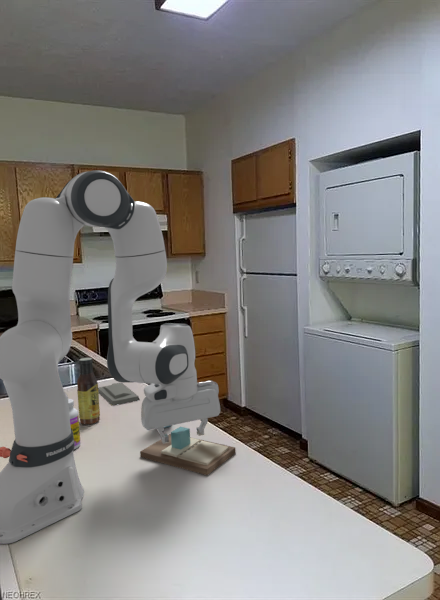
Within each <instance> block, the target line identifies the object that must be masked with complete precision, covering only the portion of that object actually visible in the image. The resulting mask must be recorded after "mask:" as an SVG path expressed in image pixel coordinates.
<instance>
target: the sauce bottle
mask: <svg viewBox="0 0 440 600" xmlns="http://www.w3.org/2000/svg"><path fill="white" fill-rule="evenodd" d="M93 363H94V362H93V358H92V357H82V358H80V359H78V365H79V370H80V371H79V373H80V374H79V376H78V378H77V382H76V385H77V392H76V393H77V405H78V407H77V408H78V415H79V424H81V425H93V424H96V423H98V422H99V421H100V417H101V412H100V409H101V408H100V398H99V397H100V395H99V394H100V393H99V392H98V388H99V383H98V379H97V378H96V376H95V374H94V369H93Z"/></svg>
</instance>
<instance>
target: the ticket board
mask: <svg viewBox="0 0 440 600" xmlns="http://www.w3.org/2000/svg"><path fill="white" fill-rule="evenodd" d="M167 435H168V436H169V439H168V440H169V442H168V443H164V444H163V443H162V439H161V438H160V439H159V440H157V441H156V442H154V443H153V444H151V445H148V447H145V448H143V449H141V450H140V451H139V455H140V456H139V457H140V458H142V459H146V460H150V461H153V462H156V463H157V462H158V463H159V464H160V463H161V464H163V465H164V464H165V465H168V466H172V467H175V468H178V469H181V470H185V471H190V472H193V473H197V474H201V475H204V476H209V475H210V474H211V473H212V472H214V471H215V470H216V469H217V468H219V467H220V466H222V465H223V464H224V463H225V462H226V461H228V460H229V459H230V458H231V457H232V456H234V455H236V452H237V451H236V447H234V446H230V445H227V444H226V445H225V444H221V443H219V442H218V443H217V442H213V441H208V440H203V439H199V438H198V439H199V440H200V442H198V443H197V444H195V445H194V446H192V447H191V448H189V449H187V450H186V451H184V452H183V453H181V454H180V455H178V457H173V456H170V455H166V454H162V453H161V451H162V450H164V449H165V448H167V447H168V446H170V445H172V444H171V433H169V434H167ZM190 438H192V437H191V436H190ZM193 438H194V439H197V438H195V437H193Z"/></svg>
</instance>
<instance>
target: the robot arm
mask: <svg viewBox="0 0 440 600" xmlns="http://www.w3.org/2000/svg"><path fill="white" fill-rule="evenodd" d="M85 226H87V227H99V228H100V227H101V228H104V229H106V231H107V232H108V233H109V235H110V238H111V239H112V240H111V241H112V242H113V251H114V258H115V271H114V276H113V278H112V279H111V280H110V282H109V285H108V288H107V322H108V323H107V324H108V327H107V328H108V347H107V348H108V349H107V356H106V366H107V370H108V372H109V374H110V376H111V377H112V379H114V380H115V381H116V382H117V383H123V384H124V383H138V384H148V385H146V386H144V388H143V394H144V396H145V397H144V398H143V400H142V402H141V407H140V409H141V412H140V420H141V425H142V427H143V428H144V429H145V430H147V431H150V430H157V432H158V434H160V437H161V438H160V440H161V439H162V443H163V444H164V443H168V442H169V440H168V439H169V436H168V435H169V434H167V433H163V431H165V428H164V427H166V426H170V427H171V426H175V425H178V424H184V423H190V422H195V421H201V422H200V425H199V426H198V427H197V426H196V435H197V436H199V437H200V436H204V435H205V428H206V426H207V424H208V421H209V420H208V419H209V418H214V417H218V416H219V415H220V413H221V405H220V404H221V403H220V398H219V392H220V391H219V389H220V388H219V385H218V383H217V382H216V381H214V380H206V381H201V382H198V378H197V376H198V375H197V369H196V367H195V360H196V347H195V339H194V335H193V330H192V328H191V326H190V325H188V324H187V323H171V322H170V323H169V322H168V323H167V322H165V323H163V324H161V325H160V327H159V328H160V329H159V335H158V336H157V337H156V338H155V340H153V341H152V342H148V341H137V340H136V339H135V338H134V336H133V335H134V333H133V306H134V304H135V302H136V300H137V299H138V298H140V297H142V296H144V295H146V294H147V293H149V292H152V291H153V290H155V289H156V288H158V287H159V285H161V284H162V282H163V281H164V279H165V278H166V275H167V272H168V271H167V270H168V261H167V260H168V259H167V252H166V247H165V246H166V245H165V240H164V235H163V232H162V227H161V225H160V220H159V218H158V215H157V212H156V209H154V207H153V206H152V205H150V203H147V202H144V201H139V200H138V201H137V200H136V201H135V200H134V198H133V197H132V196H131V194H130V193H129V192H128V191H127V189H126V187H125V186H124V185H123V183H122V182H121V181H120V180H119V179H118V177H116V176H115V175H114V174H112V173H110V172H108V171H104V170H98V169H97V170H96V169H95V170H90V171H82V172H80V173H78V174H77V175H75V176H74V177H73V178H71V179H70V180H68V182H67V183H66V184H65V185H64V186H63V188H62V189H61V191H60V192H59V193H58V194H57V196H55V198H54V197H49V196H48V197H38V198H35V199H32V200H30V201H28V202H27V203H26V205H25V206H24V208H23V212H22V215H21V218H20V221H19V226H18V230H17V234H16V235H17V236H16V242H15V251H14V262H13V271H12V272H13V274H12V283H11V284H12V285H11V290H12V293H13V294H14V296H15V301H16V306H17V317H18V319H17V320H18V321H17V324H16V325H15V326H13V327H11V328H8V329H7V330H5V331H4V332H3V333H2V334H1V335H0V380H2V383H3V385H4V388H5V391H6V393H7V395H8V399H9V401H10V407H11V411H12V412H11V413H12V420H13V430H14V440H13V443H12V445H11V448H9V447H6V446H0V458H3V459H8V462H7V464H6V465H5V466H4V468H2V469H1V471H0V545H1V544H2V545H3V544H4V545H5V544H13V543H15V542H19V540H21V539H24V538H25V537H28V536H30V535H32V534H34V533H36V532H38V531H40V530H43V529H44V528H46V527H49V526H51V525H52V524H54V523H57V522H58V521H60V520H63V519H64V518H67V517H69V516H71V515H73V514H75V513H77V512H79V511H80V510H82V509H83V506H82V505H83V504H82V499H83V497H84V495H85V490H84V488H83V486H82V483H81V480H80V476H79V473H78V469H77V466H76V465H77V464H76V460H75V454H74V450H75V449H74V436H73V431H72V430H71V426H70V414H69V403H68V399H69V396H68V394H67V393H66V392H65V390H64V387H63V384H62V381H61V378H60V375H59V374H60V373H59V363H60V361H61V360H63V359H64V358H65V357H66V356H67V354H68V353H69V351H70V348H71V345H72V342H73V331H72V320H71V319H72V318H71V303H70V302H71V300H70V299H71V298H70V294H71V284H72V283H71V282H72V271H73V264H74V253H75V242H76V238H77V236H78V234H79V231H80V230H81V229H82V228H83V227H85ZM166 428H167V427H166ZM73 449H74V450H73Z"/></svg>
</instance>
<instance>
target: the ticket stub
mask: <svg viewBox="0 0 440 600" xmlns="http://www.w3.org/2000/svg"><path fill="white" fill-rule="evenodd" d="M170 434H171V444H172V445H170V446H168V447H167V448H165V449H164V450H162V451H161V453H162V454H166V455H170V456H173V457H178V455H180V454H181V453H183V452H184V451H186V450H187V449H189V448H191V447H192V446H194V445H195V444H197V443H198V442H200V440H201V439H200V440H199V438H196V439H194V438H195V437H191V429H190V428H189V427H185V426H179V427H177V428H176V429H173V430H172V431H171V432H170ZM190 437H191V438H190Z"/></svg>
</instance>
